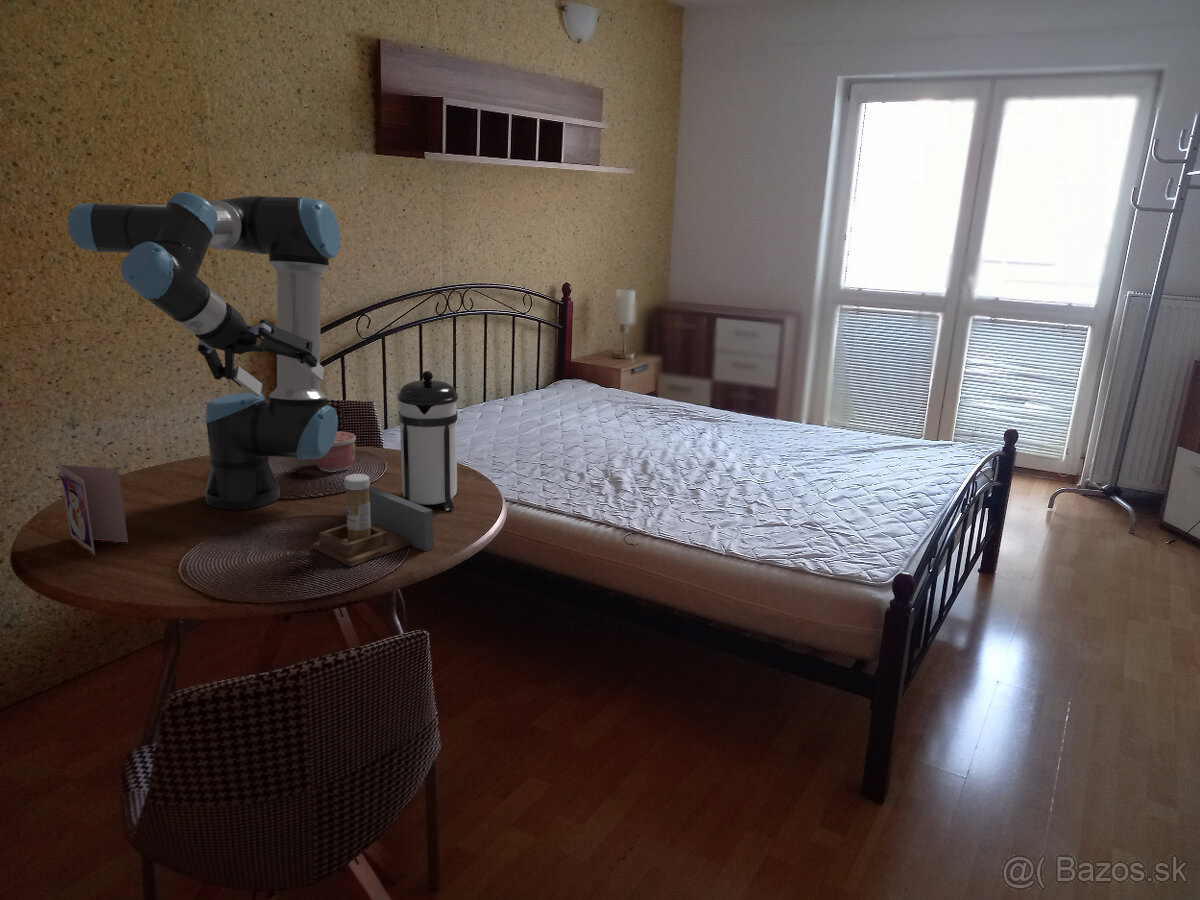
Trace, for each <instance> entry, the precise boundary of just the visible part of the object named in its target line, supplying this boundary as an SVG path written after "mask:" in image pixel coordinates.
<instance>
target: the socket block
mask: <svg viewBox="0 0 1200 900" xmlns="http://www.w3.org/2000/svg"><path fill="white" fill-rule="evenodd" d="M370 532H371V536H368V537H365V538H362V539H359V540H356V541H353V542H350V543H348V542H347V540H348V528H347V523H345V524H342V525H339V526H336V527H332V528H329V529H326V530H323V531H319V534H318V535H319V536H318V537H319V540H318V541H316V542H313V543H312V547H313V548H312V549H314V550H317V551H318V552H320V553H323V554H325V555H326V556H329V557H330V558H333V559H334V560H337V561H338V562H340V563H343V564H345V565H347V566H348V567H353V566H356V565H357V566H358V565H359V564H362V563H365V562H367V561H370V560H373V559H376V558H378V557H381V556H384V555H386V554H387V555H388V554H389V553H392V552H393V553H394V552H396V551H398V550H400V549H403V548H406V547H408V546H412V541H411V540H410V539H408V538H406V537H403V536H401V535H399V534H397V533H394V532H392V531H390V530H387V529H385V528H383V527H380V526H378V525H376V524H371V526H370Z"/></svg>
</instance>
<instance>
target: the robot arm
mask: <svg viewBox="0 0 1200 900" xmlns="http://www.w3.org/2000/svg"><path fill="white" fill-rule="evenodd" d="M67 225H68V233H69V236H70V238H71V240H72V241H73V242H74V244H75V245H76V246H77V247H79V248H80V249H81V250H86V251H93V252H98V253H124V254H125V253H126V254H128V253H129V254H128V255H125V257H123V260H122V261H121V265H120V274H121V277H122V279H123V281H124V282H125V283H126V284H128V285H129V286H130V287H131V288H132V289H133V290H134V291H135V292H136V293H138V295H140V297H142V298H143V299H146V300H147V301H149V302H150V303H151V304H152V305H154V306H155V307H157V308H158V309H159V310H161V311H162V312H164V314H166V315H168V316H169V317H170V318H172V319H173V321H176V322H177V323H178V324H179V325H181V326H182V327H183V328H185V329H186V330H187V331H188V332H190V333H191V334H193V335H194V336H195V337H196V338H198V344H197V349H196V351H198V353H200V355H202V356H203V357H204V359H205V361H206V364H207V366H208V368H209V370H210V373H211V374H212V376H213V378H214V379H215V380H219V381H220V380H222V378H225V379H227V380H231V381H232V382H234V383H235V384H236V385H238V386H240V387H243V388H244V389H246V390H247V391H248V392H242V393H234V394H233V393H232V394H229V395H225V396H224V395H223V396H220V397H217V398H215V399H212V400H211V401H209V402H208V403H207V405H206V407H205V424H206V430H207V431H206V432H207V438H208V447H209V458H210V472H209V475H208V479H207V483H206V487H205V491H204V498H205V499H204V500H205V503H206V505H208V507H211V508H213V509H219V510H224V511H225V510H226V511H227V510H229V511H239V510H249V509H255V508H259V507H264V506H267V505H269V504H270V505H271V503H274V502H275V501H277V500H278V499H279V498H280V496H281V492H280V484H279V482H278V480H277V477H276V475H275V473H274V470H273V469H272V467H271V464H270V459H269V457H272V458H275V457H276V458H288V459H298V460H300V461H304V460H314V459H320V458H322V457H324V456H325V455H326V454H327V453H328V452H329V450H330V449H331V447H332V445H333V443H334V440H335V437H336V433H337V431H338V425H339V418H338V415H337V410H336V409H335V407H332V406H331V405H329V404H328V396H327V395H326V394H325V392H324V391H323V390H322V389H321V381H323V380H324V373H325V367H324V366H323V365H321V320H322V319H321V316H322V315H321V311H322V310H321V309H322V308H321V307H322V306H321V305H322V298H321V297H322V274H323V273H324V272H325V271H326V270H327V269H328V268H329V264H330V261H329V260H330V259H332V258H335V257H336V256H338V254H339V249H340V245H341V235H340V228H339V225H338V221H337V218H336V215H335V214H334V211H333V209H332V208H331V207H330V206H329V204H328V203H327V202H325V201H324V200H321V199H315V198H309V197H302V196H301V197H293V196H292V197H290V196H289V197H288V196H285V197H284V196H264V195H263V196H260V195H250V196H241V197H240V196H239V197H231V198H225V199H209V200H207V199H205V198H203V197H202V196H200V195H197V194H195V193H191V192H189V191H188V192H187V191H180V192H177V193H176V194H175V193H174V194H173V195H172V196H171V197H170V198H169V200H168V201H167V204H132V203H131V204H123V203H122V204H118V203H117V204H112V203H111V204H108V203H97V202H93V203H92V202H91V203H79V204H77V205H75V206H73V208H71V210H70V212H69V214H68V217H67ZM209 247H210V248H212V249H214V250H215V249H216V250H221V251H222V250H232V251H238V252H245V253H252V254H257V255H269V256H268V257H269V258H268V259H269V260H268V262H269V264H270V266H272V267H273V269H274V270H275V271H276V275H277V276H276V277H277V278H276V282H277V283H276V285H277V286H276V289H277V290H276V311H277V312H276V314H277V315H276V322H277V323H276V326H275V325H274V324H273V323H271V322H269V321H268V320H266V319H260V320H259V324H257V325H255V326H253V325H251V324H249V323H247V322H246V321H245V319H244V317H243V316H242V314H241V313H240V312H239V311H238V310H237V309H235V307H233V306H232V305H230V304H229V303H228V302H226V301H225V299H224V298H222V297H221V296H220V295H219V294H218V293H216V292H215V291H214V290H213V289H211V287H209V286H208V285H207V284H205V283H204V281H202V280H201V279H200V277H198V273H199V271H200V269H201V266H202V263H203V261H204V258H205V256H206V255H207V252H208V248H209ZM258 339H260V342H259V345H258ZM217 350H220V351H224V365H223V363H222V361H221V358H220V357H219V354H218V351H217ZM250 352H258V353H264V352H266V353H271V354H274V355H276V388H275V389H274V390H273V391H272V392H271V393H270V394H269V396H268V397H269V401H266V397H265V395H264V394H263V393H262V389H263V383H262V382H260V381H259V380H258V379H257V378H256V377H254V376H253V375H252V374H250V373H248V372H247V370H245V369H244V368H242V367H241V366H240V365H237V366H235V355H243V354H246V353H250ZM234 367H235V368H234Z"/></svg>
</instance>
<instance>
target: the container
mask: <svg viewBox="0 0 1200 900" xmlns="http://www.w3.org/2000/svg"><path fill="white" fill-rule="evenodd" d="M356 438H357V436H356V435H355V434H354V433H352V432H347V431H340V430H339V431H338V430H337V433H336V437H335V440H334V443H333V445H332V447H331V449H330V450H329V452H328V453H327V454H326V455H325V456H324V457H322V458H320V459H313V461H314V463H315V466H316V467H318V469H319V468H320V469H322V470H329V471H336V470H337V471H338V470H344V469H348V468H349V467H351V468H352V465H353V464H354V462H355V459H356V443H355V442H356V440H357V439H356Z"/></svg>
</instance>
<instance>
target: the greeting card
mask: <svg viewBox="0 0 1200 900" xmlns="http://www.w3.org/2000/svg"><path fill="white" fill-rule="evenodd" d="M59 471H60V474H58V477H59V479H60V480H61V482H62V488H63V495H64V502H65V508H66V516H67V521H68V527H69V534H70V537H71V536H72V537H73V538H74V539H76V540H77V541H78V542H80V543H81V544H82V545H84V546H85V547H86V548H88V549H89V550H90V551H92V552H93V553H94V554H95V555H96V552H95V544H94V541H93V538H94V539H102V540H109V541H119V542H127V543H126V544H129V539H128V532H127V530H128V529H127V524H126V517H125V511H124V510H125V509H124V503H123V502H124V501H123V496H122V495H123V494H122V485H121V479H120V472H119V468H113V467H112V468H111V467H97V466H85V465H84V466H83V465H82V466H81V465H69V464H68V465H67V464H59Z"/></svg>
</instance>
